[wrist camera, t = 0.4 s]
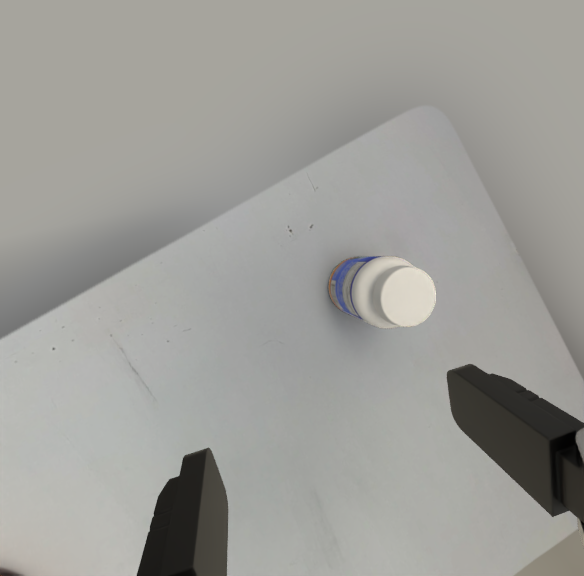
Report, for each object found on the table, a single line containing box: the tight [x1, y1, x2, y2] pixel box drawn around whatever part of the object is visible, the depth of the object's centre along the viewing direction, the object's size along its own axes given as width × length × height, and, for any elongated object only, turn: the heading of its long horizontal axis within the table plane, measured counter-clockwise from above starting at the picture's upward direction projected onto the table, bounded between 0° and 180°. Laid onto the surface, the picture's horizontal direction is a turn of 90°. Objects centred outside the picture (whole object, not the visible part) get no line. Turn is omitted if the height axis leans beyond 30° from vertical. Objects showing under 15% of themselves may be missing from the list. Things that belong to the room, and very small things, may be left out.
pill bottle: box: [328, 256, 436, 329], centre depth 26 cm, size 5×5×10 cm
